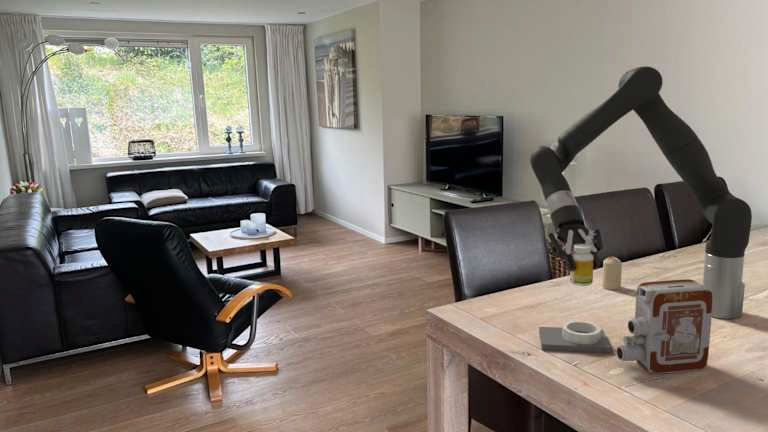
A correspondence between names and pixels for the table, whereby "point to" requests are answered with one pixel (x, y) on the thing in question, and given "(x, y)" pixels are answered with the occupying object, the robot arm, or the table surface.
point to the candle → (612, 273)
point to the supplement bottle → (582, 265)
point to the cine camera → (670, 327)
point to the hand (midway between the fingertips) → (585, 268)
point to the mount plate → (564, 345)
